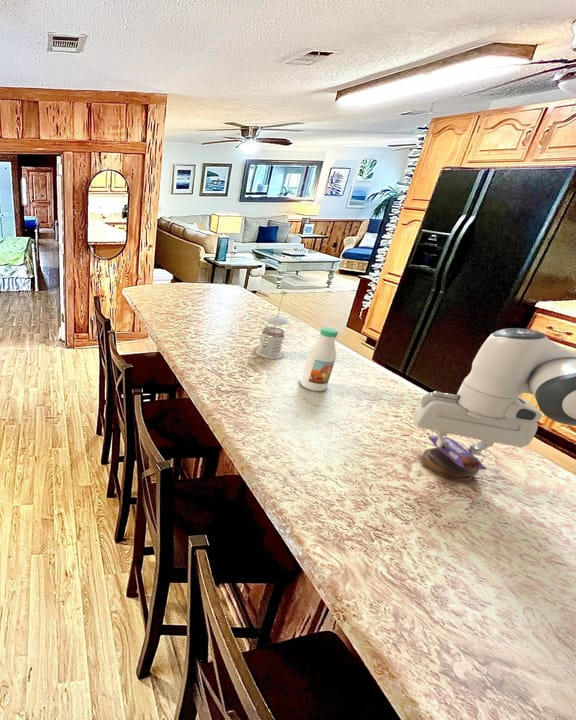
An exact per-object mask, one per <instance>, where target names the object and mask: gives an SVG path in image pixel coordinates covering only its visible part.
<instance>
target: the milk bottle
mask: <svg viewBox="0 0 576 720" xmlns="http://www.w3.org/2000/svg"><path fill="white" fill-rule="evenodd" d="M338 334H339V331H338V330H337V329H335V328H331V327H322V328H321V329H320V332H319V338H318V340H316V342H315V343H314V344H313V345H312V346H311V348H310V349H309V351H308V355H307V358H306V361H305V364H304V367H303V371H302V375H301V378H300V385H301V386H302V387H304V388H305V389H307V390H310V391H314V392H323V391H325V390H326V389H327V387H328V383H329V381H330V378H331V375H332V372H333V370H334V369H333V368H334V365H335V361H336V358H337V350H336V349H337V348H336V345H335V343H336V342H335V341H336V339H337V336H338Z"/></svg>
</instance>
